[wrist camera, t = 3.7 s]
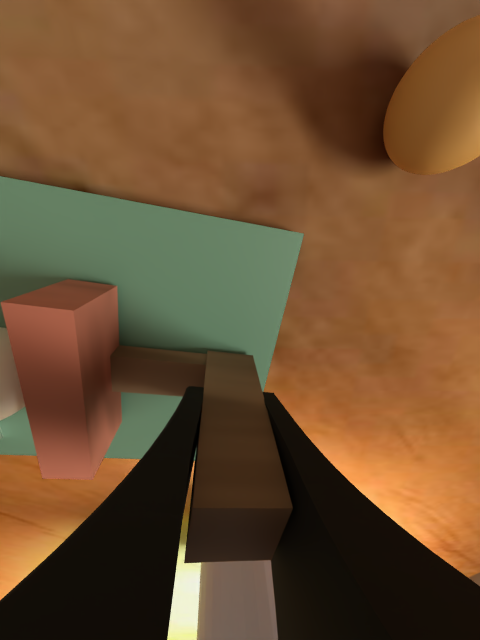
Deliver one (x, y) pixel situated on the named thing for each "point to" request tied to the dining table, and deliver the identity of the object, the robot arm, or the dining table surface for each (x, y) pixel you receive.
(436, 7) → the dining table surface
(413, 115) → the figurine
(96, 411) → the striker
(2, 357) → the ball
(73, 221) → the board
